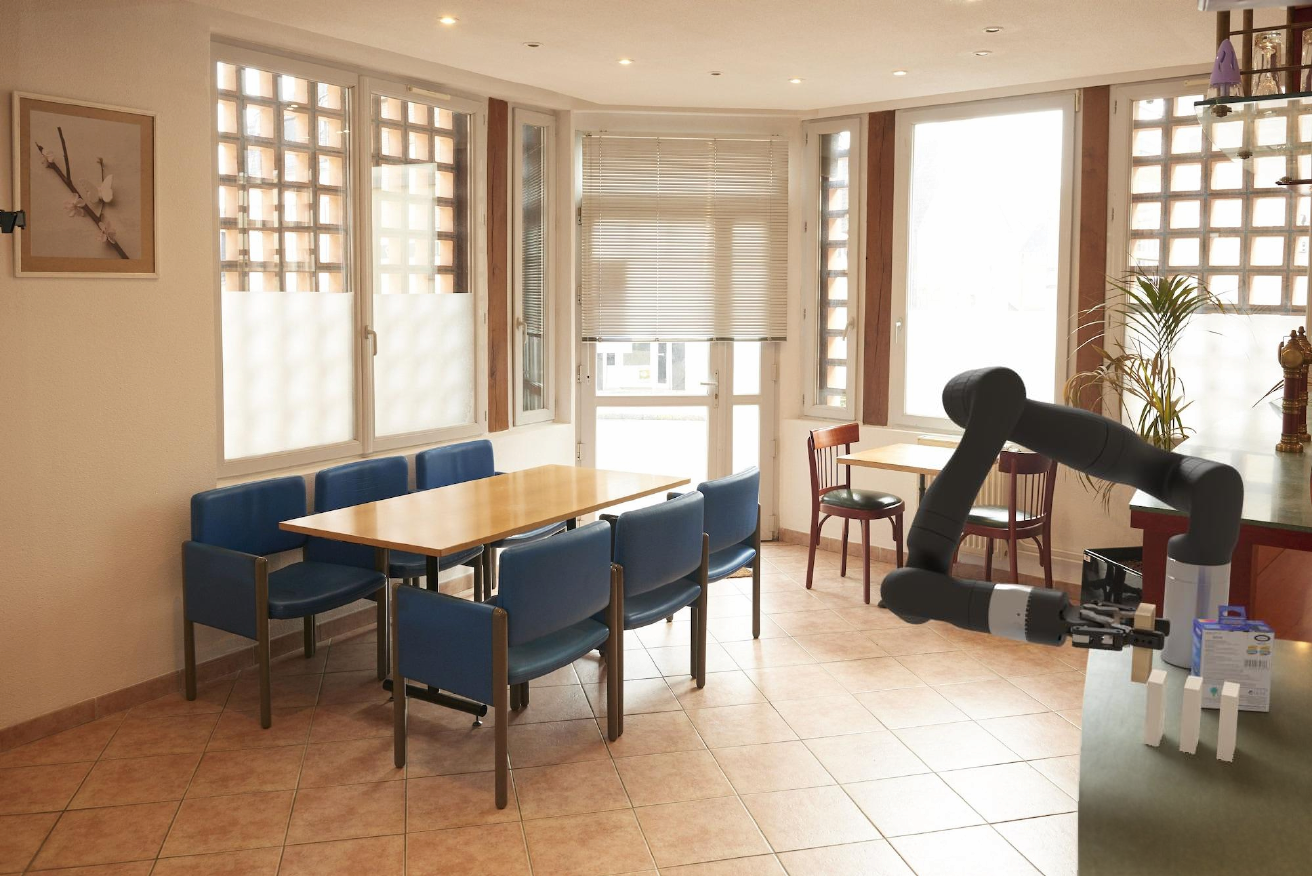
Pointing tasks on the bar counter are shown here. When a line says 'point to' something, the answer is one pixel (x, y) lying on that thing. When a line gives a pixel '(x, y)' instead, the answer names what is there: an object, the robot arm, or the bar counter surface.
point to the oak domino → (1141, 655)
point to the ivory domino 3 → (1228, 721)
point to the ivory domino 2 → (1191, 714)
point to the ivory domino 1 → (1155, 707)
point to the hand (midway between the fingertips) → (1166, 634)
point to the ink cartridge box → (1233, 658)
